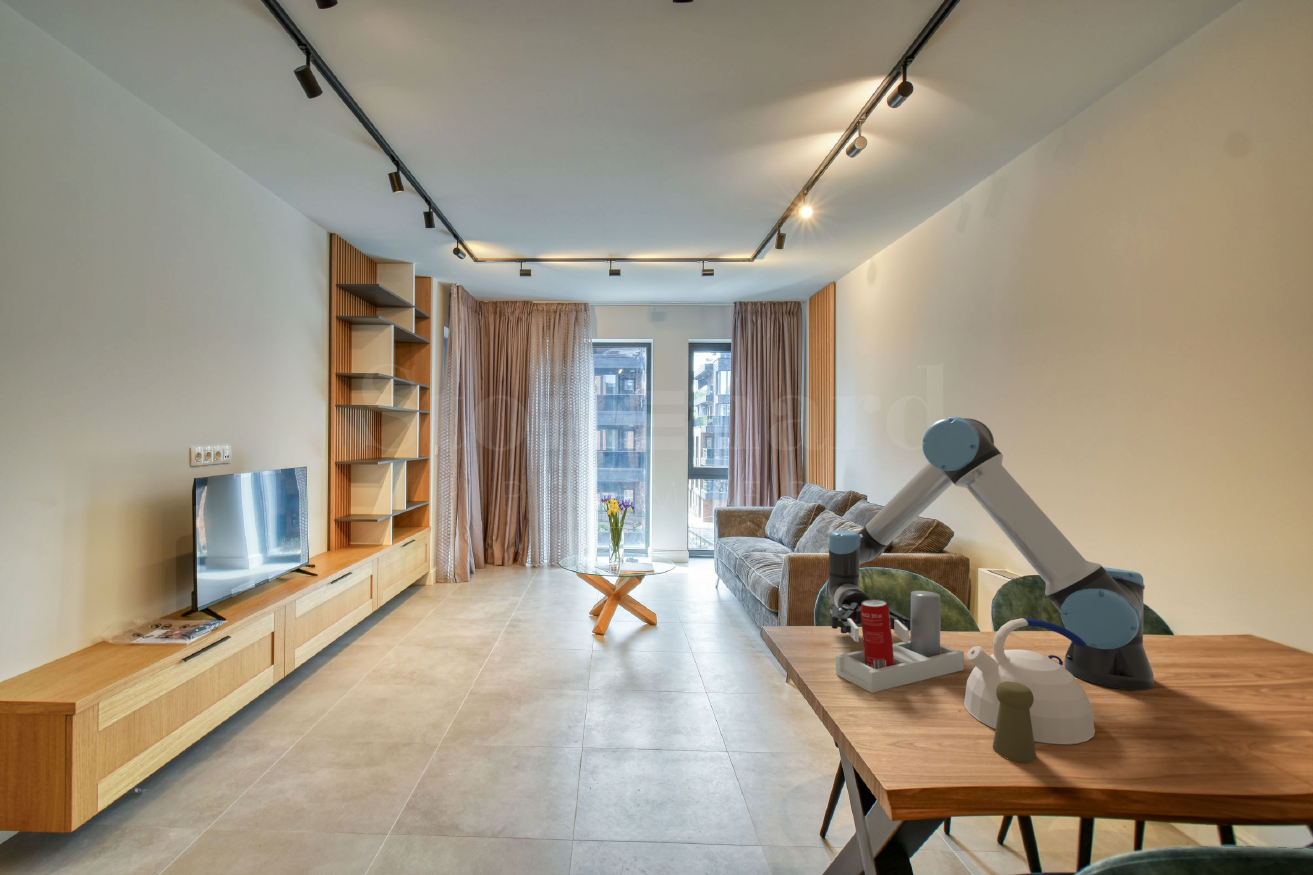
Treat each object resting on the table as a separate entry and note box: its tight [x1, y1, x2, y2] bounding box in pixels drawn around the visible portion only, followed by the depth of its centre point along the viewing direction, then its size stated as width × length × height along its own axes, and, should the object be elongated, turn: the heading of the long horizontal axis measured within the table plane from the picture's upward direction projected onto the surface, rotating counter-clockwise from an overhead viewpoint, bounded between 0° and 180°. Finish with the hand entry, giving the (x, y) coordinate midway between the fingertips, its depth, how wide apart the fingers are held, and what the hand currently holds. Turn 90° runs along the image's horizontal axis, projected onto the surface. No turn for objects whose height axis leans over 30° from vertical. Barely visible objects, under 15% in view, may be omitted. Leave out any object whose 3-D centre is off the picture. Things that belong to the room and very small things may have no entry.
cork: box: [992, 681, 1037, 764], centre depth 95 cm, size 6×6×11 cm
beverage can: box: [860, 598, 894, 669], centre depth 124 cm, size 6×6×15 cm
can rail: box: [835, 590, 965, 694], centre depth 127 cm, size 27×10×16 cm, turn 115°
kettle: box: [963, 617, 1096, 746], centre depth 108 cm, size 20×21×18 cm
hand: (881, 635), depth 119 cm, fingers open, 9 cm apart
